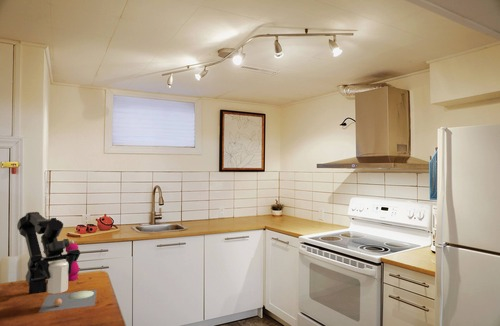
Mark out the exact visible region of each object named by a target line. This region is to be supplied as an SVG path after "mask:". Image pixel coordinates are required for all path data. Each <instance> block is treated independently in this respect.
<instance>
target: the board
mask: <svg viewBox="0 0 500 326" xmlns="http://www.w3.org/2000/svg"><path fill="white" fill-rule="evenodd" d="M97 291H98V290H97V289H92V290H79V291H74V292H62V293H55V294H47V295H46V297H45V299H44V301H43V303H42V304H41V307H40V308H39V310H38V312H37V313H46V312H54V311H55V312H56V311H62V310H70V309H78V308H79V309H80V308H84V307H86V308H87V307H93V306H94V307H95V304H96V298H97ZM58 298H59V299H61V300H62V303H61V305H60V306H55V305H54V300H55V299H58Z"/></svg>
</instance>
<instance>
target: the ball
mask: <svg viewBox="0 0 500 326" xmlns="http://www.w3.org/2000/svg"><path fill="white" fill-rule="evenodd" d="M61 303H62V300H61V299H59V298H58V299H55V300H54V305H55V306H60V305H61Z"/></svg>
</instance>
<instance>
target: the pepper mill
mask: <svg viewBox="0 0 500 326" xmlns="http://www.w3.org/2000/svg"><path fill="white" fill-rule="evenodd" d="M69 244H70V245H69V246H68V247H65V252H66V254H68V252H69V250H75V249H78V250H79V245H78V244H77V243H75V241H74V240H70V241H69ZM79 272H80V266H79V264H78V260H77V261H74V262H73V263H72V265H71V274H70V275H69V274H68V282H72V281H76V280H78V279H79V275H78V274H79Z"/></svg>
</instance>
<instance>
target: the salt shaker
mask: <svg viewBox="0 0 500 326" xmlns="http://www.w3.org/2000/svg"><path fill="white" fill-rule="evenodd" d="M68 266H69V264H68V262H66V260H65V261H64V260H58V261H52V262H49V270H48V271H49V274H50V279H47V282H48V284H47V293H48V294H51V295H53V294H62V293H66V292H68V288H69V281H68Z"/></svg>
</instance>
